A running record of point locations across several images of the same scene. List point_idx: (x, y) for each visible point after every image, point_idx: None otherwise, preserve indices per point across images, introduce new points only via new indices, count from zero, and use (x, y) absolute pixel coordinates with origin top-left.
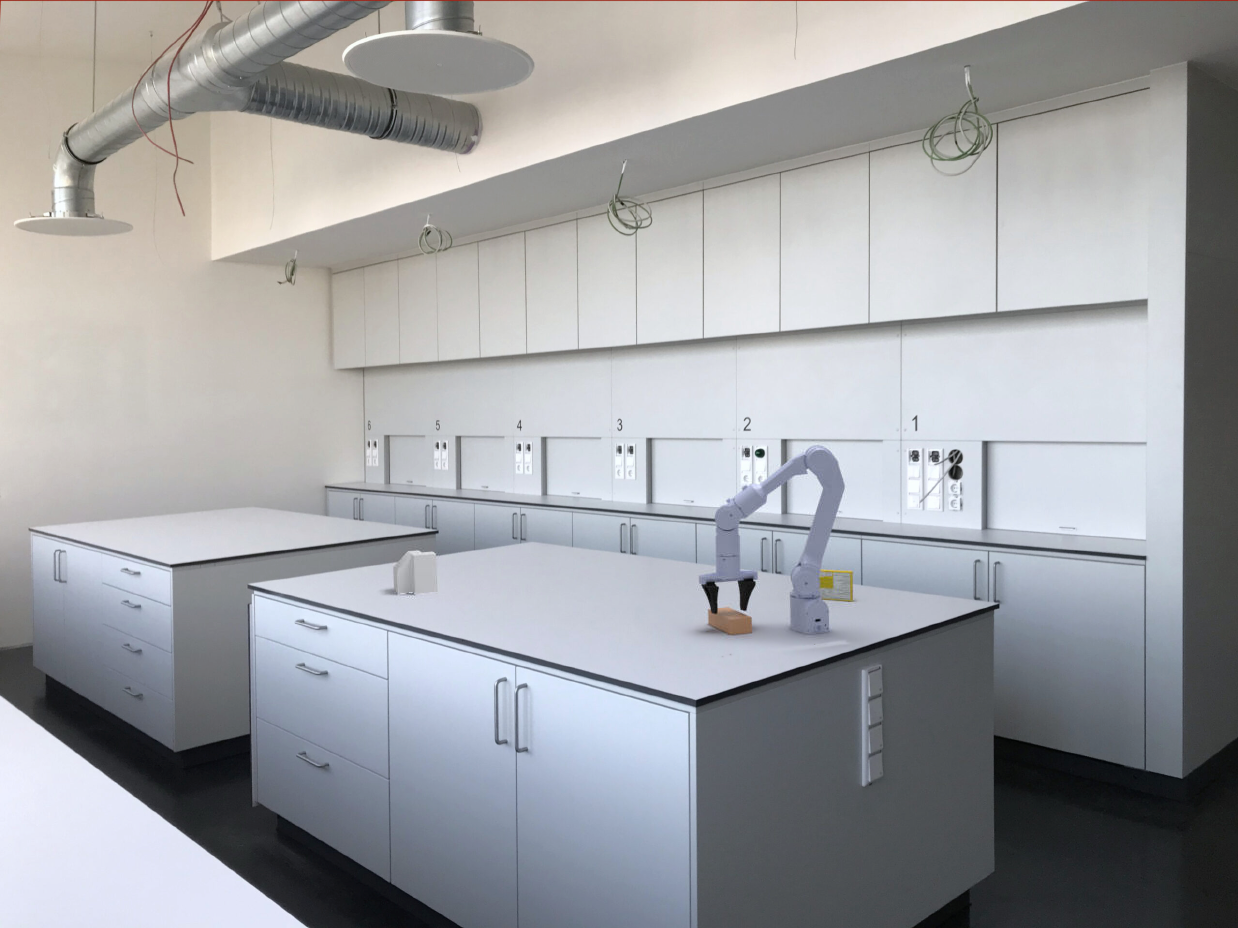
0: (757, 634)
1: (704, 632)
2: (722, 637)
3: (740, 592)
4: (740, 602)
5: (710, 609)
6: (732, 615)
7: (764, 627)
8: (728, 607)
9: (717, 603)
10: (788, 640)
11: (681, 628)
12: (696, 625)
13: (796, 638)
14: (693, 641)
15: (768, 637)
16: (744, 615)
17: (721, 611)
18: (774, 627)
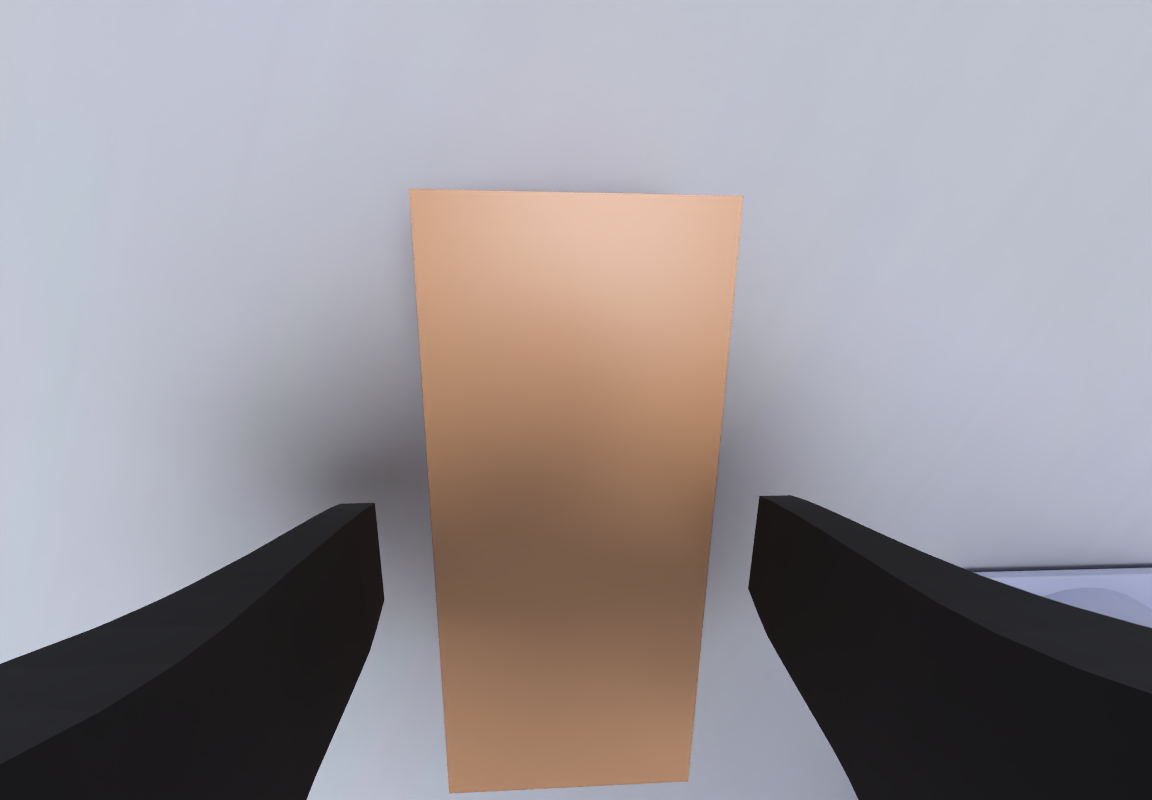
0: (721, 595)
1: (350, 361)
2: (434, 576)
3: (917, 641)
4: (804, 545)
5: (438, 221)
6: (550, 652)
7: (904, 420)
8: (732, 223)
9: (330, 739)
10: (802, 792)
11: (166, 83)
12: (372, 22)
13: None
14: None
15: (739, 692)
16: (665, 697)
17: (526, 416)
18: (968, 455)
